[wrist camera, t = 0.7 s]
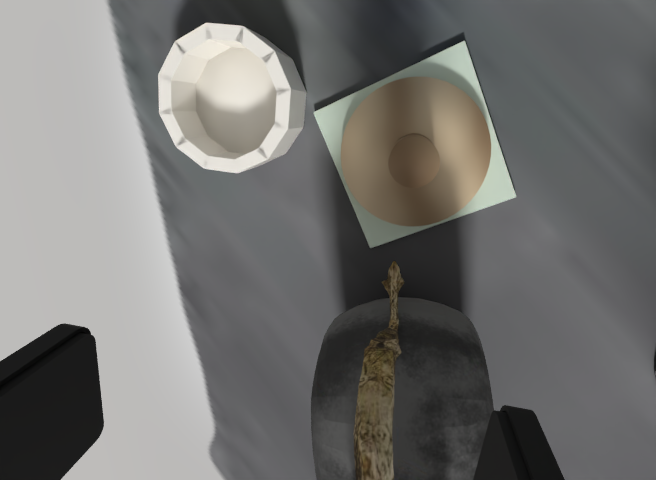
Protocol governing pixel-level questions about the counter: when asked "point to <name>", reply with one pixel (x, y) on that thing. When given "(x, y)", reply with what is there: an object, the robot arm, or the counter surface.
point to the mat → (442, 65)
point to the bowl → (230, 98)
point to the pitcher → (400, 392)
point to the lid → (415, 151)
